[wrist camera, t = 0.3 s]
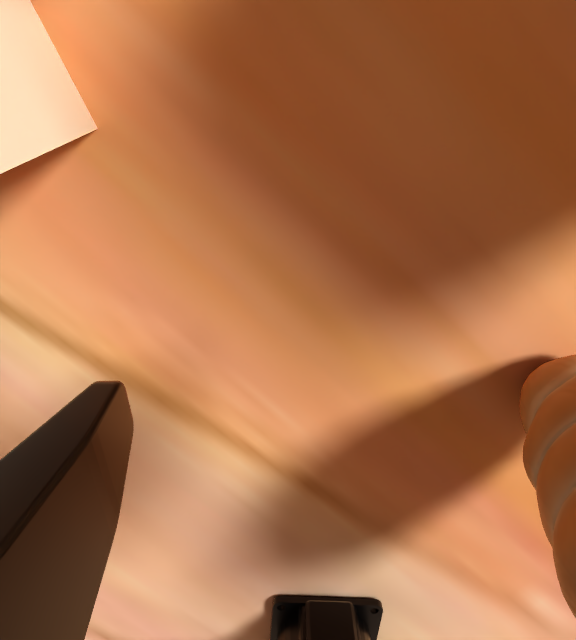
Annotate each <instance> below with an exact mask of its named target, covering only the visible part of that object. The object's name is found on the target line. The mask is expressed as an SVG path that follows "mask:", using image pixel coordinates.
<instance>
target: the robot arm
mask: <svg viewBox="0 0 576 640" xmlns="http://www.w3.org/2000/svg"><path fill="white" fill-rule="evenodd" d="M132 437H133V418H132V414H131V409H130V405H129V401H128V397H127V393H126V389H125V386H124V385H123V383H122V382H120V381H98V382H94V383H93V384H91V385H90V386H89V387H88V388H86V389H85V390H84V391H83V392H82V393H80V394H79V395H78V396H77V397H76V398H74V399H73V400H72V401H71V402H70V403H68V404H67V405H66V406H65V407H64V408H62V409H61V410H60V411H59V412H58V413H56V414H55V415H54V416H53V417H51V418H50V419H49V420H48V421H47V422H45V423H44V424H43V425H42V426H41V427H39V428H38V429H37V430H36V431H35V432H33V433H32V434H31V435H30V436H29V437H27V438H26V439H25V440H24V441H23V442H21V443H20V444H19V445H18V446H17V447H15V448H14V449H13V450H12V451H11V452H9V453H8V454H7V455H6V456H5V457H3V458H2V459H1V460H0V640H84V639H85V635H86V632H87V628H88V625H89V621H90V618H91V615H92V611H93V608H94V604H95V601H96V598H97V594H98V591H99V587H100V584H101V580H102V577H103V574H104V570H105V567H106V563H107V560H108V557H109V553H110V550H111V546H112V543H113V539H114V535H115V532H116V528H117V524H118V519H119V513H120V508H121V502H122V496H123V490H124V484H125V479H126V473H127V467H128V461H129V455H130V449H131V443H132ZM382 613H383V608H382V603H381V602H380V601H379V600H376V599H354V598H325V597H296V596H278V597H276V598H274V600H273V606H272V619H271V632H270V640H377V635H378V631H379V626H380V622H381V617H382Z"/></svg>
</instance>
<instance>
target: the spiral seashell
mask: <svg viewBox="0 0 576 640" xmlns="http://www.w3.org/2000/svg"><path fill="white" fill-rule="evenodd" d="M519 409H520V416H521V420H522V424H523V427H524V430H525V432H526V434H527V436H526V439H525V442H524V447H523V463H524V467H525V470H526V473H527V475H528V478H529V479H530V481H531V483H532V485H533V487H534V488H535V490H536V493H537V501H538V507H539V511H540V517H541V521H542V525H543V528H544V530H545V533H546V536H547V538H548V540H549V542H550V544H551V546H552V548H553V557H554V563H555V568H556V573H557V577H558V580H559V583H560V587H561V590H562V593H563V596H564V598H565V600H566V602H567V604H568V606H569V608H570V609H571V611H572V613H573V615H574V616H575V618H576V355H571V356H567V357H562V358H558V359H555V360H552V361H549V362H546V363H544V364H542V365H541V366H539V367H538V368H537V369H535V370H534V371H533V372H532V373H531V374H530V375H529V376H528V377H527V379H526V381H525V382H524V384H523V386H522V389H521V396H520V404H519Z"/></svg>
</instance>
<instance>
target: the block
mask: <svg viewBox="0 0 576 640" xmlns="http://www.w3.org/2000/svg"><path fill="white" fill-rule="evenodd" d="M96 129H98V128H97V126H96V124H95V122H94V120H93V119H92V117H91V115H90V113H89V111H88V109H87V107H86V105H85V103H84V102H83V100H82V98H81V96H80V94H79V92H78V90H77V88H76V86H75V85H74V83H73V81H72V79H71V77H70V75H69V73H68V71H67V69H66V67H65V66H64V64H63V62H62V60H61V58H60V56H59V54H58V52H57V50H56V49H55V47H54V45H53V43H52V41H51V39H50V37H49V35H48V33H47V32H46V30H45V28H44V26H43V24H42V22H41V20H40V18H39V16H38V15H37V13H36V11H35V9H34V7H33V5H32V3H31V1H30V0H0V174H1V173H4V172H6V171H8V170H10V169H12V168H14V167H16V166H19V165H21V164H23V163H25V162H27V161H29V160H32V159H34V158H36V157H38V156H40V155H42V154H44V153H47V152H49V151H51V150H53V149H55V148H57V147H60V146H62V145H64V144H66V143H68V142H70V141H72V140H75V139H77V138H79V137H81V136H83V135H85V134H88V133H90V132H92V131H94V130H96Z"/></svg>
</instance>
